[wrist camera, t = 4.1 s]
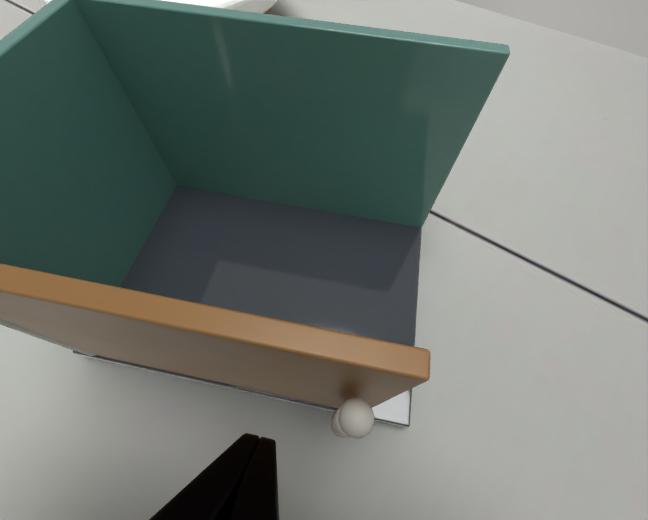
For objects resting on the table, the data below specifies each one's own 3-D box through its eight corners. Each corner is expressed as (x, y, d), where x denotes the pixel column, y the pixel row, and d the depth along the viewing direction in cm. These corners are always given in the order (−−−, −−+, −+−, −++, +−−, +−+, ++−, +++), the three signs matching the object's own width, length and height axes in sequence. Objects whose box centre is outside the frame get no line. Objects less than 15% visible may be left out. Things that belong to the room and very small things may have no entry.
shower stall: (404, 427, 16) (567, 413, 6) (83, 356, 17) (-262, 239, 7) (417, 229, 21) (509, 44, 11) (177, 187, 23) (66, -13, 13)
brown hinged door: (358, 442, 14) (428, 452, 5) (71, 376, 15) (-264, 295, 6) (363, 397, 15) (431, 344, 6) (92, 338, 16) (-177, 222, 7)
